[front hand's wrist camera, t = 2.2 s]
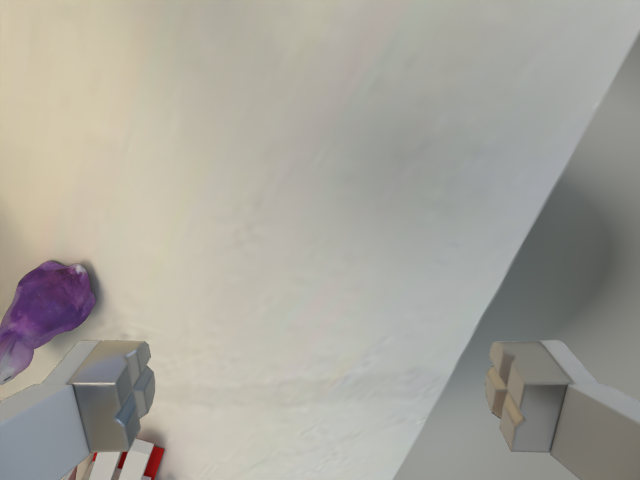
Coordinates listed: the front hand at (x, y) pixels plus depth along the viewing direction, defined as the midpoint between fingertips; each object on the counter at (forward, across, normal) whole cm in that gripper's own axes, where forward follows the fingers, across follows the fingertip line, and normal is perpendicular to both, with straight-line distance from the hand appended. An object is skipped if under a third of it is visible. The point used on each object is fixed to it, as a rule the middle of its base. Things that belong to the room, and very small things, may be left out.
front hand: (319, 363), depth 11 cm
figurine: (+41, +32, +21) cm, 56 cm away
